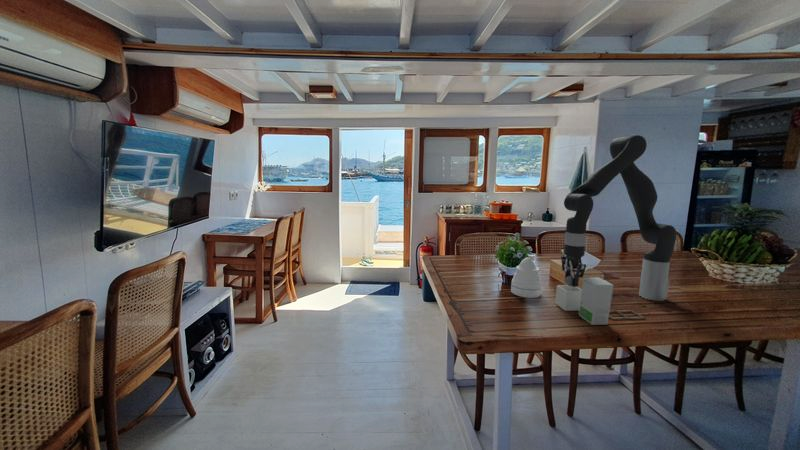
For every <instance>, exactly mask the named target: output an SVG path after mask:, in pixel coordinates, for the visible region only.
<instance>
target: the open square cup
mask: <svg viewBox="0 0 800 450" xmlns="http://www.w3.org/2000/svg"><path fill="white" fill-rule="evenodd" d="M555 289H556V290H555V301H554V302H555V305H557V306H558V307H560V308H561V309H562V310H564V311H565V312H568V311H569V312H572V311H575V312H576V311H577V312H579V309H580V301H581V294H582V288H580V287H578V286H577V287H573V286H569V285H567V284H564V285H563V284H557V285H556V288H555Z"/></svg>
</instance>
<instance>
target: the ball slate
mask: <svg viewBox="0 0 800 450" xmlns="http://www.w3.org/2000/svg"><path fill="white" fill-rule="evenodd" d="M572 277H573V276H572V274H571V275H570V276H567V277H566V279H565V278H564V283H565V285H569V286H572Z"/></svg>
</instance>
